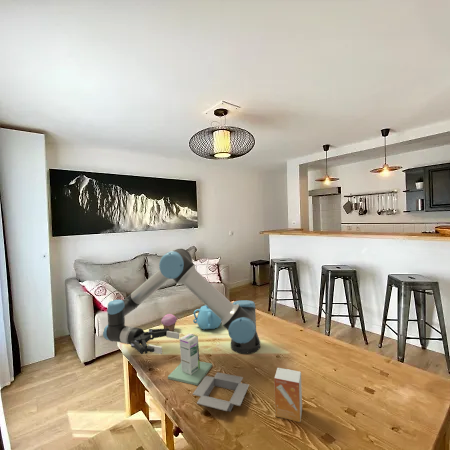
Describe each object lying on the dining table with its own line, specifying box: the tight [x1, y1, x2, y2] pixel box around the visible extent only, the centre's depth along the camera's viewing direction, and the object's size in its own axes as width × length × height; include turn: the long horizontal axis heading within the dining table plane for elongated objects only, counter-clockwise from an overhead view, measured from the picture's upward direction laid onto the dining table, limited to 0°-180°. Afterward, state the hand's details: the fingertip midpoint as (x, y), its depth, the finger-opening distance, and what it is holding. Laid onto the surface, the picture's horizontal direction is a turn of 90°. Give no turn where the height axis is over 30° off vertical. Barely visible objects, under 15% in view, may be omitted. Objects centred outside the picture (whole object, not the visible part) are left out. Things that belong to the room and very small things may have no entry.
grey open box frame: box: [192, 372, 250, 413], centre depth 92 cm, size 18×18×3 cm
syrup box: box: [179, 332, 200, 375], centre depth 108 cm, size 6×6×14 cm
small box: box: [274, 367, 303, 423], centre depth 83 cm, size 8×6×13 cm
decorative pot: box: [193, 304, 222, 331], centre depth 154 cm, size 16×16×14 cm
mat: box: [167, 360, 213, 387], centre depth 108 cm, size 14×14×1 cm
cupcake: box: [160, 313, 178, 332], centre depth 150 cm, size 9×9×10 cm
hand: (170, 342), depth 112 cm, fingers open, 13 cm apart
